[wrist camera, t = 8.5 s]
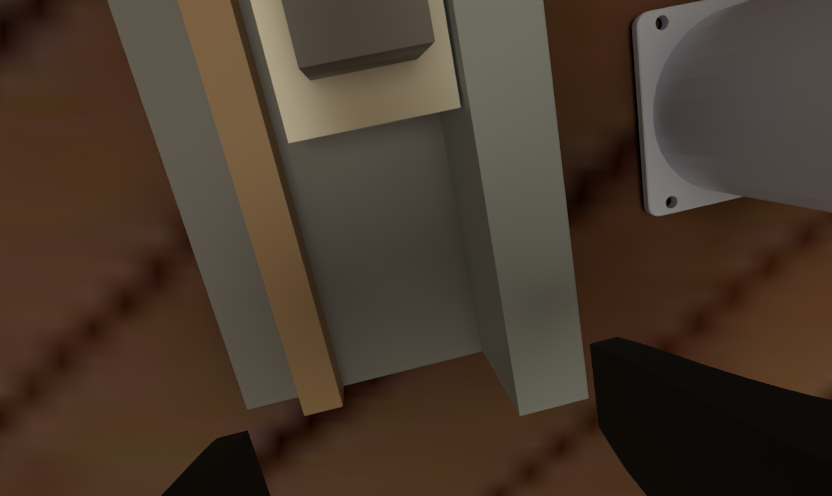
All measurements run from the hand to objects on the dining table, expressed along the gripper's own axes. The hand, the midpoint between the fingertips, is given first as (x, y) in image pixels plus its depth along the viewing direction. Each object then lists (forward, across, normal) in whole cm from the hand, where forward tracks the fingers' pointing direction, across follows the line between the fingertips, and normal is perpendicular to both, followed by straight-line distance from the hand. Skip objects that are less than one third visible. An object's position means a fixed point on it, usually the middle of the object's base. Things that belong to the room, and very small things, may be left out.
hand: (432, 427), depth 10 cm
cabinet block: (+10, 0, -10) cm, 14 cm away
